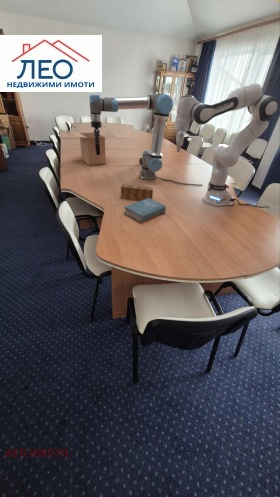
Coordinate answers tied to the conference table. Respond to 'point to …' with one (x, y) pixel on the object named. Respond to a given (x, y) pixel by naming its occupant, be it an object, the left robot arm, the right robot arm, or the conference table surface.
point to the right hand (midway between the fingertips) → (177, 150)
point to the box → (92, 147)
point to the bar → (136, 192)
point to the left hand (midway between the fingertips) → (97, 152)
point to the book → (144, 209)
